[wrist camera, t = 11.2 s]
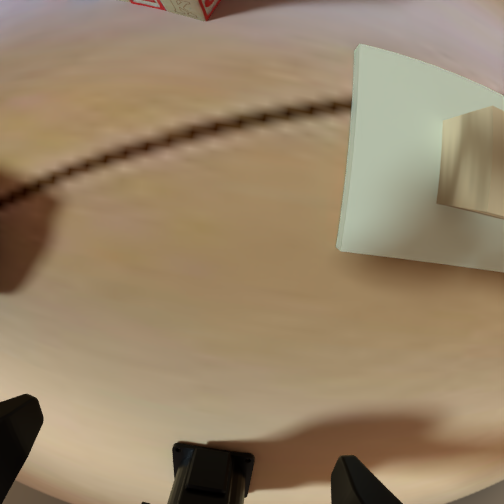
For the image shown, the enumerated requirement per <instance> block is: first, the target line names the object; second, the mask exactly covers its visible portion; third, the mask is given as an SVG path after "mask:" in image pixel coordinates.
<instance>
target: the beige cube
mask: <svg viewBox="0 0 504 504" xmlns="http://www.w3.org/2000/svg"><path fill="white" fill-rule="evenodd" d="M436 204H440V205H445V206H449V207H454V208H458V209H462V210H466V211H470V212H474V213H478V214H482V215H486V216H490V217H494V218H499V219H503V220H504V111H503V110H501V109H499V108H497V107H494V106H489V107H486V108H482V109H479V110H476V111H472V112H469V113H466V114H463V115H459V116H456V117H453V118H450V119H447V120H444V121H443V128H442V149H441V163H440V175H439V185H438V193H437V202H436Z"/></svg>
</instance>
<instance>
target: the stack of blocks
mask: <svg viewBox="0 0 504 504" xmlns="http://www.w3.org/2000/svg"><path fill="white" fill-rule="evenodd" d="M120 1H126V2H131V3H133V4H138V5H143V6H148V7H152V8H157V9H161V10H165V11H169V12H172V13H176V14H180V15H183V16H187V17H191V18H194V19H198V20H201V21H207V20H208V19H209V17H210V16H211V14H212V13H213V11H214V10H215V8H216V7H217V5H218V4H219V3H220V1H221V0H120Z"/></svg>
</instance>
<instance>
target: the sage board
mask: <svg viewBox="0 0 504 504" xmlns="http://www.w3.org/2000/svg"><path fill="white" fill-rule="evenodd" d="M489 106H494V107H497V108H499V109H501V110H503V111H504V96H503V95H501V94H499V93H497V92H495V91H493V90H491V89H489V88H487V87H485V86H483V85H480V84H478V83H476V82H474V81H472V80H469V79H467V78H465V77H462V76H460V75H457V74H455V73H452V72H450V71H447V70H445V69H442V68H440V67H437V66H434V65H431V64H429V63H426V62H423V61H420V60H417V59H414V58H411V57H407V56H404V55H401V54H398V53H394V52H391V51H387V50H383V49H380V48H376V47H372V46H368V45H364V44H359V45H358V47H357V48H356V50H355V51H354V76H353V95H352V110H351V124H350V136H349V147H348V157H347V167H346V176H345V185H344V193H343V201H342V208H341V216H340V223H339V230H338V237H337V243H336V248H338V249H339V250H340V251H343V252H351V253H359V254H367V255H375V256H383V257H391V258H399V259H407V260H415V261H422V262H430V263H438V264H445V265H453V266H460V267H468V268H475V269H482V270H490V271H497V272H504V220H503V219H499V218H494V217H490V216H486V215H482V214H478V213H474V212H470V211H466V210H462V209H458V208H454V207H449V206H445V205H440V204H436V202H437V193H438V185H439V175H440V163H441V149H442V128H443V121H444V120H447V119H450V118H453V117H456V116H459V115H463V114H466V113H469V112H472V111H476V110H479V109H482V108H486V107H489Z"/></svg>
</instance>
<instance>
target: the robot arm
mask: <svg viewBox="0 0 504 504" xmlns="http://www.w3.org/2000/svg"><path fill="white" fill-rule="evenodd" d="M42 424H43V414H42V411H41V408H40V405H39V401H38V399H37V398H36V397H33V396H31V395H29V394H23V395H20V396H17V397H14V398H12V399H9V400H6V401H3V402H0V504H2V502H3V500H4V499H5V496H6V495H7V493H8V491H9V489H10V488H11V486H12V484H13V482H14V480H15V479H16V477H17V475H18V473H19V471H20V470H21V468H22V466H23V464H24V463H25V461H26V459H27V457H28V455H29V453H30V451H31V448H32V446H33V444H34V442H35V439H36V437H37V435H38V433H39V431H40V428H41V426H42ZM178 448H179V449H178ZM172 451H173V465H174V477H175V480H174V483H173V487H172V490H171V493H170V496H169V500H168V503H167V504H244V498H245V497H247V494H248V490H249V485H250V480H251V475H252V470H253V465H254V456H253V455H252V454H249V453H240V452H232V451H224V450H217V449H210V448H204V447H198V446H192V445H186V444H181V443H175V444H174V445H173V448H172ZM331 501H332V504H403V503H402V502H401V501H400V500H399V499H398V498H396V497H395V496H394V495H393V494H392V493H391V492H390V491H389V490H388V489H387V488H386V487H385V486H384V485H383V484H382V483H381V482H380V481H379V480H378V479H377V478H376V477H375V476H374V475H373V474H372V473H371V472H370V471H369V470H368V469H367V468H366V467H365V466H364V464H363V463H362V462H361V461H360V460H359V459H358V458H357V457H356V456H354V455H342V456H340V457H339V458H338V460H337V463H336V465H335V467H334V469H333V472H332V475H331ZM142 504H150V503H146V502H142Z"/></svg>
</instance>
